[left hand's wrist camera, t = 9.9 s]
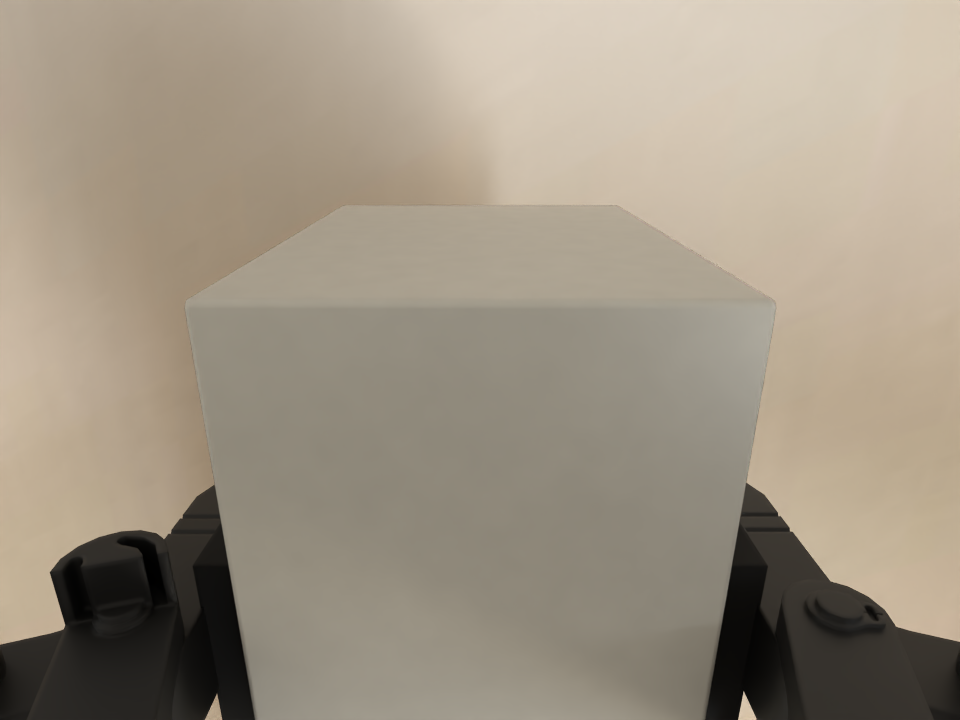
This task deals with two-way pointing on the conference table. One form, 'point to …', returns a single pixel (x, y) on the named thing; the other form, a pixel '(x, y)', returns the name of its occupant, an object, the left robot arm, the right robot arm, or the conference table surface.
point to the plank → (480, 462)
